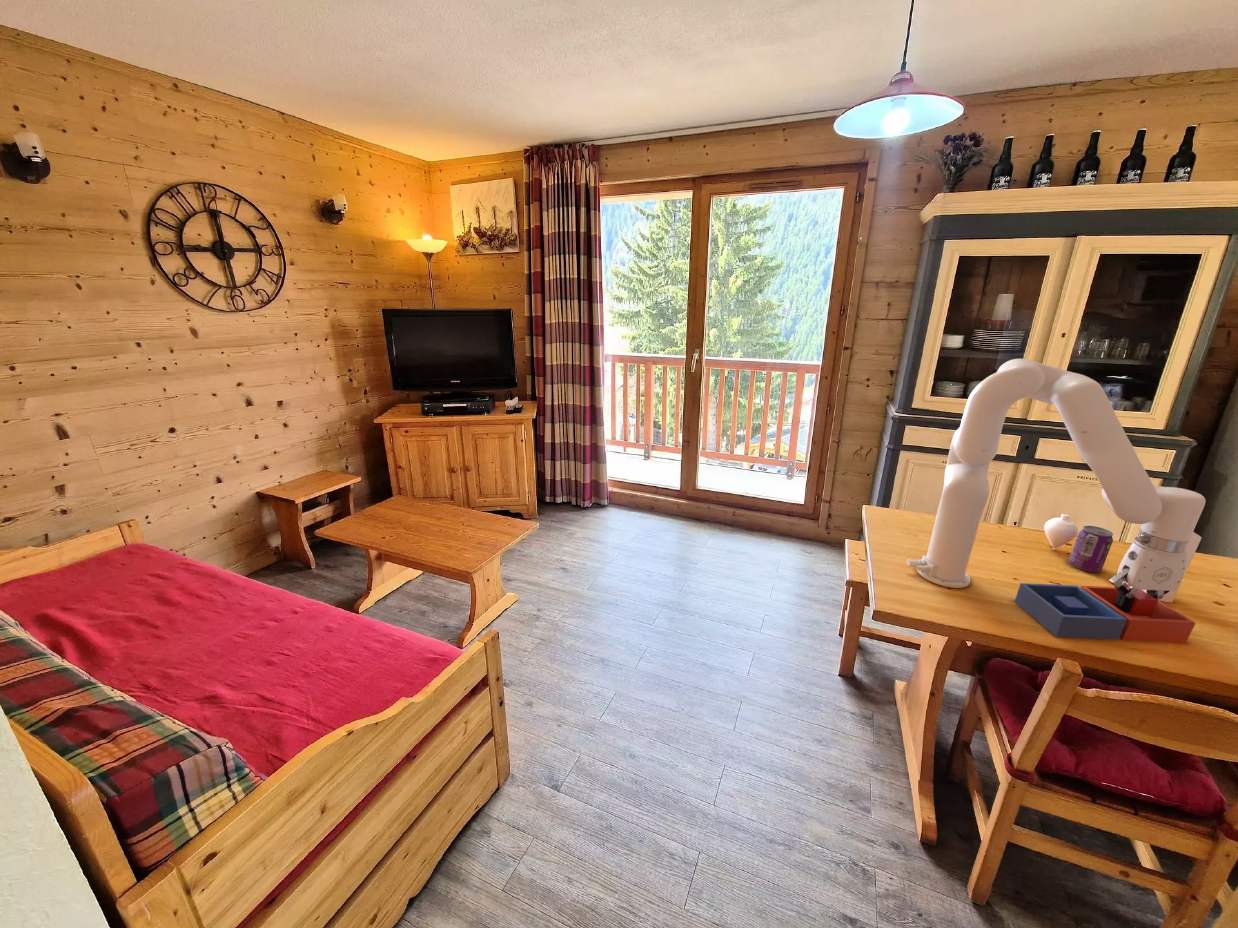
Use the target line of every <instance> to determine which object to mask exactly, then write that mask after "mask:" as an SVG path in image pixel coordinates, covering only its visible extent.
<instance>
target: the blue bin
mask: <svg viewBox="0 0 1238 928" xmlns="http://www.w3.org/2000/svg"><path fill="white" fill-rule="evenodd" d="M1080 587H1081V586H1078V585H1073V584H1069V585H1068V584H1049V583H1048V584H1047V583H1027V582H1025V583H1024V582H1020V583H1019V587H1018V590H1017V593H1016V596H1015V599H1014V603H1015V604H1016V605H1018V606H1019V607H1020V608H1021V609H1022V610H1024V612H1026V613H1027V614H1028V615H1029V616H1030V617H1032V618H1033V619H1034V620H1035V621H1036V622H1037V623H1039V624H1040V625H1041V626H1043V627H1044V629H1046V630H1047V631H1048V632H1050V633H1051V634H1052V635H1053V636H1054V637H1055V638H1071V639H1092V640H1113V641H1114V640H1115V641H1118V640H1119V639H1120V638H1119V637H1120V635H1121V632H1122V630H1123V627H1124V625H1125V623H1126V620H1127V619H1125V618H1124V617H1122V616H1121V615H1119V614H1118V613H1116V612H1115V611H1114V610H1112V609H1111V608H1109V607H1108V606H1106V605H1105V604H1103V603H1102V602H1100V601H1099V600H1097V599H1096V598H1095V597H1093V596H1092V595H1090V594H1089V593H1087V592H1086V591H1084V590H1083V589H1081V588H1080ZM1054 596H1066V597H1075V598H1076V599H1077V600H1079V601H1080V602H1082V603H1083V604H1084V605H1086V606H1087V607H1089V610H1088V613H1087V615H1086V616H1081V615H1064V614H1063V613H1061V612H1060V611H1059V610H1058V609H1056V608H1055V607H1054V606H1052V605H1051V604H1052V602H1053V599H1054Z"/></svg>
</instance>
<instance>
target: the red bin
mask: <svg viewBox="0 0 1238 928" xmlns="http://www.w3.org/2000/svg"><path fill="white" fill-rule="evenodd" d="M1079 587H1080V588H1081V589H1083V590H1084V591H1086V592H1087V593H1089V594H1090V595H1092V596H1093V597H1095V598H1096V599H1097V600H1099V601H1100V602H1102V603H1103V604H1105V605H1106V606H1108V607H1109V608H1111V609H1112V610H1114V611H1115V612H1116V613H1118V614H1119V615H1121V616H1122V617H1124V618H1125V619H1127V620H1126V623H1125V625H1124V627H1123V630H1122V632H1121V635H1120V637H1119V639H1120V640H1121V641H1130V642H1132V641H1133V642H1154V643H1172V644H1173V643H1175V644H1187V642H1188V640H1189V639H1190V636H1191V634H1192V632H1193V629H1194V627H1195V625H1196V621H1194V620H1192V619H1191V618H1189V617H1187V616H1186V615H1184V614H1182V613H1181V612H1179V611H1177V610H1175V609H1174V608H1172V607H1170V606H1169V605H1168V604H1165V603H1164V602H1163V601H1159V600H1158V603H1157V605H1156V607H1155V610H1154V612H1153V614H1152V616H1133V615H1130V614H1128V613H1125V612H1123V611H1122V610H1120V609H1119V608H1117V607H1116V606H1115V605H1114V603H1115V601H1116V599H1117V596H1118V594H1119V592H1118V591H1117V589H1116V588H1115V586H1098V585H1097V586H1096V585H1080V586H1079ZM1127 589H1130V588H1129V587H1127Z"/></svg>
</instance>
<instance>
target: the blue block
mask: <svg viewBox="0 0 1238 928" xmlns="http://www.w3.org/2000/svg"><path fill="white" fill-rule="evenodd" d="M1051 605H1052V606H1054V607H1055V608H1056V609H1058V610H1059V611H1060V612H1061V613H1063V614H1064V615H1081V616H1086V615H1087V613H1088V610H1089V607H1087V606H1086V605H1084V604H1083V603H1082V602H1080V601H1079V600H1077V599H1076V598H1075V597H1066V596H1054V599H1053V602H1052V604H1051Z"/></svg>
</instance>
